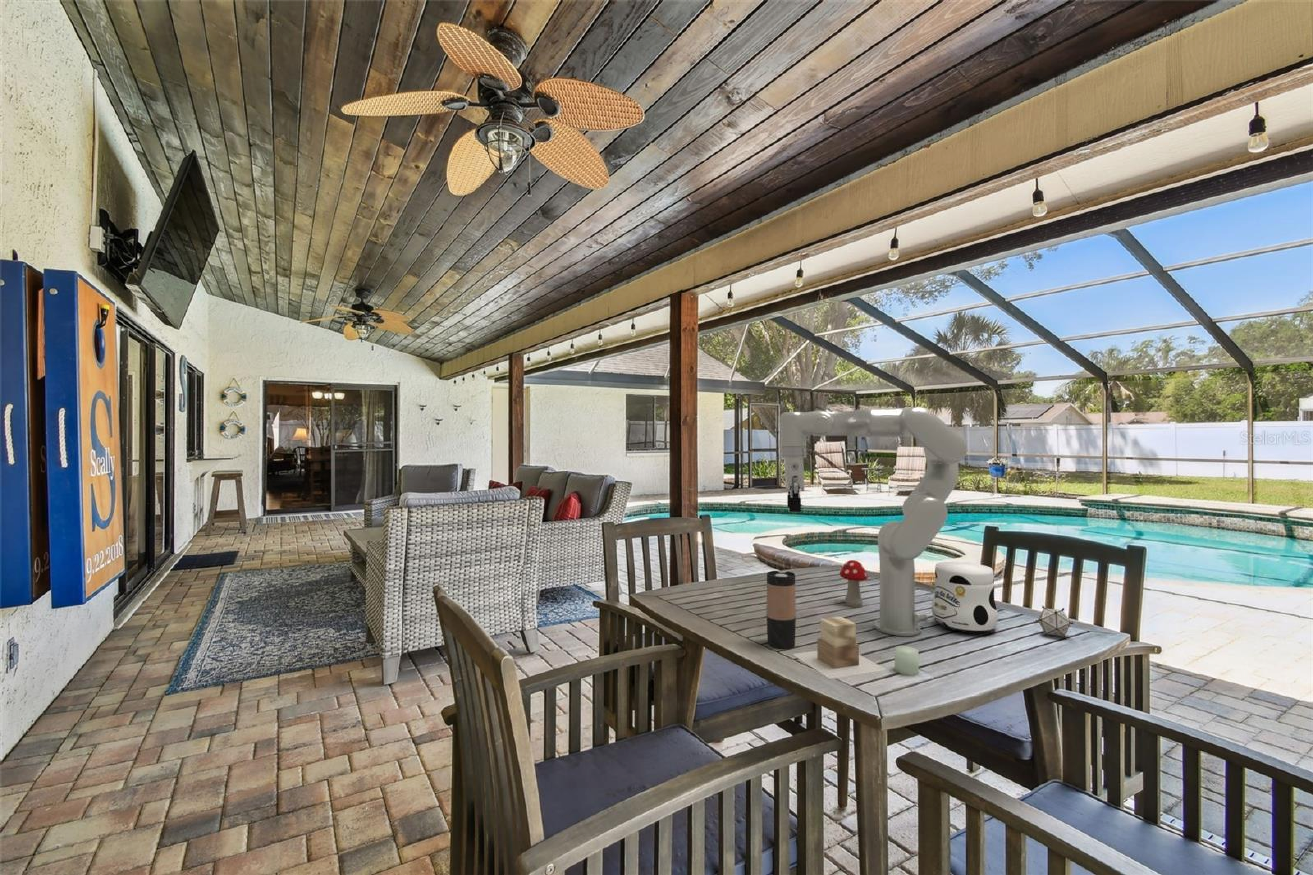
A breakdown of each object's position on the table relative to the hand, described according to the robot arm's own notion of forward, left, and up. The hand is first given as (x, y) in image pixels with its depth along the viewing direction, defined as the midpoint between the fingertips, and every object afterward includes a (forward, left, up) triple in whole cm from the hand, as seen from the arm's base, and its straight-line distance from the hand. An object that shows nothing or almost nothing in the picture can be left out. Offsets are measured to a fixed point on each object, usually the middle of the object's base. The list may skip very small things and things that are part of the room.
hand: (794, 509), depth 173 cm
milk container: (-46, +18, -35) cm, 61 cm away
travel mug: (+14, +15, -35) cm, 41 cm away
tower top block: (+7, +30, -29) cm, 42 cm away
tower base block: (+7, +30, -34) cm, 46 cm away
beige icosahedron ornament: (-64, +32, -35) cm, 80 cm away
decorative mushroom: (-30, -12, -35) cm, 48 cm away
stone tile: (+7, +30, -35) cm, 47 cm away
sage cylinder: (-5, +40, -35) cm, 54 cm away
